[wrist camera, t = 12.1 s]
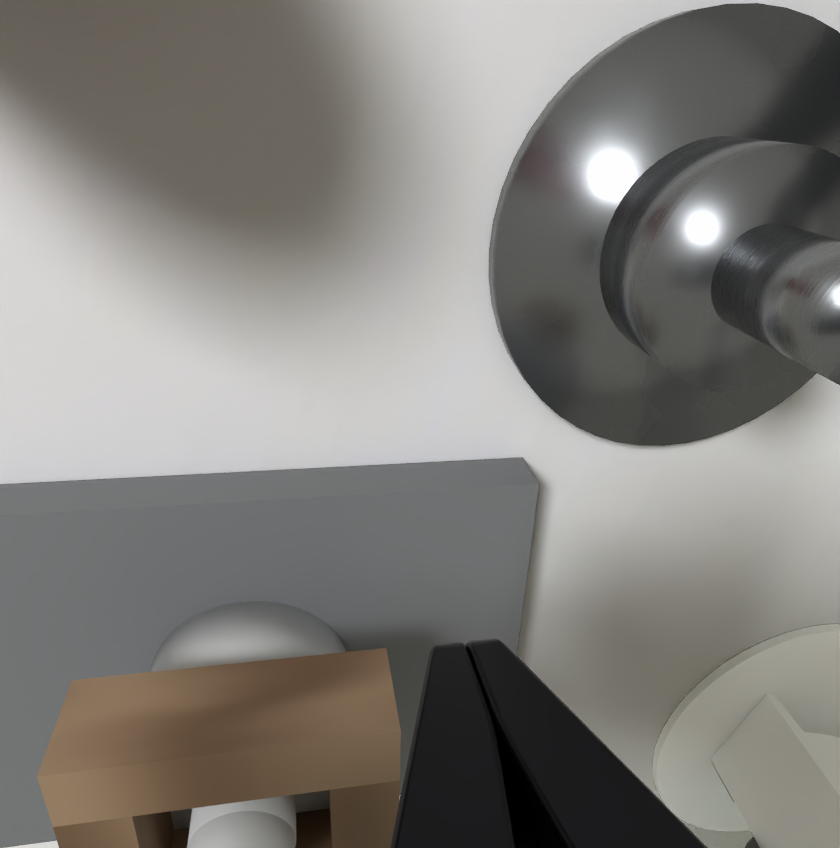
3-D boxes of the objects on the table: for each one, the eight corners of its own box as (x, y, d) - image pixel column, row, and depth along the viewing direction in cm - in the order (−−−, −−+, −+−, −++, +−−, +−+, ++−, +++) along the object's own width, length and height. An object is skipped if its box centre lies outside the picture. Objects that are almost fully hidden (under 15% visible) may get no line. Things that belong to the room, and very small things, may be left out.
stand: (948, 19, 17) (1295, -14, 11) (817, 428, 21) (1011, 554, 16) (509, -10, 15) (651, -69, 9) (473, 444, 20) (550, 594, 14)
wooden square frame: (386, 647, 16) (400, 731, 14) (384, 835, 19) (396, 927, 17) (71, 680, 15) (36, 776, 13) (122, 874, 18) (100, 978, 16)
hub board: (522, 457, 20) (638, 641, 13) (489, 744, 25) (561, 978, 19) (-88, 489, 17) (-319, 739, 11) (16, 803, 23) (-96, 1101, 16)
